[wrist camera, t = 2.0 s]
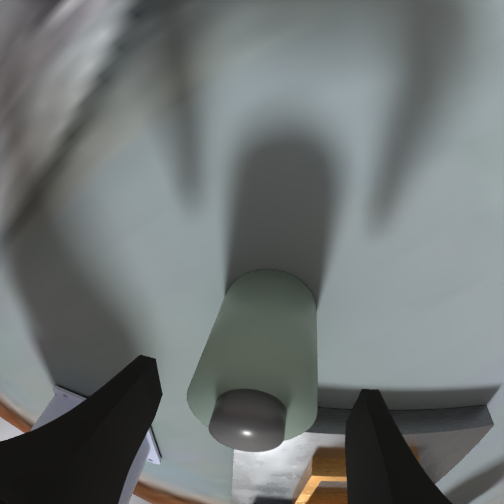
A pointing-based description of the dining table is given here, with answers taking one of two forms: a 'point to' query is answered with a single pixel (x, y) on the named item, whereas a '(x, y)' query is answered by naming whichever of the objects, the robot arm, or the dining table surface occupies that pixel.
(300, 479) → the motor base
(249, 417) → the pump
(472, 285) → the dining table surface
